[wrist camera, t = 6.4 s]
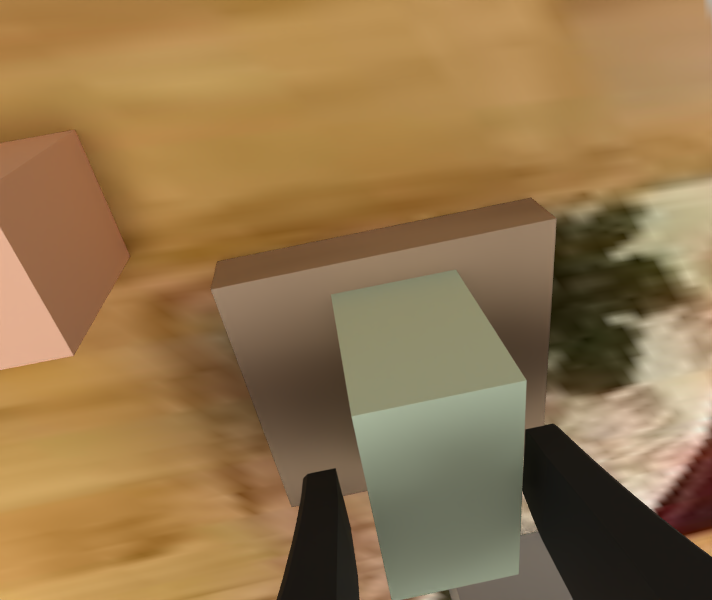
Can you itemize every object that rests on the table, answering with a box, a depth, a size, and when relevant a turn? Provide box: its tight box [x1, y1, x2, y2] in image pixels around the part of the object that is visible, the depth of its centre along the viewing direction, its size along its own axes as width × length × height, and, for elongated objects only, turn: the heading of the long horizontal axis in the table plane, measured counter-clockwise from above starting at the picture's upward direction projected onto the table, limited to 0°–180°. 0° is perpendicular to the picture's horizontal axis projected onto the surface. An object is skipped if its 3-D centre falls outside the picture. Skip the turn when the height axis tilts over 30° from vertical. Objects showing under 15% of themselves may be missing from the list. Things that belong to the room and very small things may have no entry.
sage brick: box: [331, 270, 527, 600], centre depth 12 cm, size 6×3×4 cm, turn 9°
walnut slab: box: [211, 198, 557, 507], centre depth 14 cm, size 8×8×2 cm
